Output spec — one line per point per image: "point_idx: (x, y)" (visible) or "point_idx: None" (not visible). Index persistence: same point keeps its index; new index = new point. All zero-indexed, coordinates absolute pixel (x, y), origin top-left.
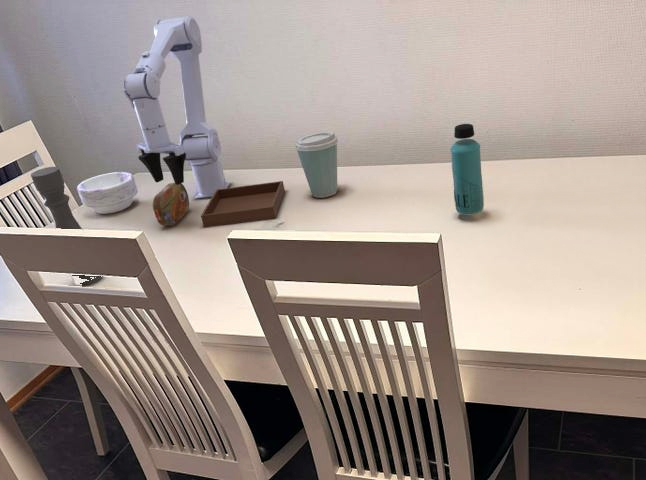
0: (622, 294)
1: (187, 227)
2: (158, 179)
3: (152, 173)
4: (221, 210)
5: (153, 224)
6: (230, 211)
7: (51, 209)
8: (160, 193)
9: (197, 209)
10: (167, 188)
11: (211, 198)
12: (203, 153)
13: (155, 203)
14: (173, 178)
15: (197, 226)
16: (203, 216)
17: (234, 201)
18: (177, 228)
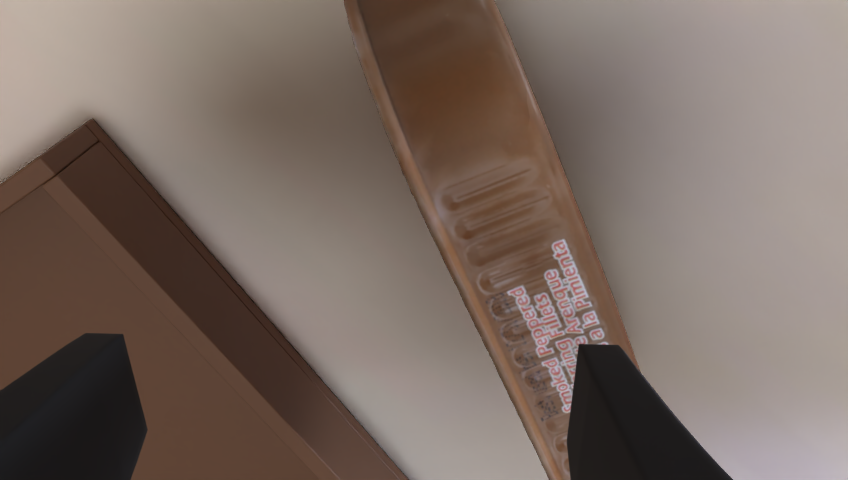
0: None
1: (244, 72)
2: (580, 398)
3: (628, 439)
4: (213, 375)
5: (673, 25)
6: None
7: None
8: (507, 219)
9: (476, 365)
10: (538, 361)
11: (309, 454)
12: None
13: (443, 19)
14: (52, 386)
15: (170, 116)
16: (27, 166)
17: None
18: (325, 26)
